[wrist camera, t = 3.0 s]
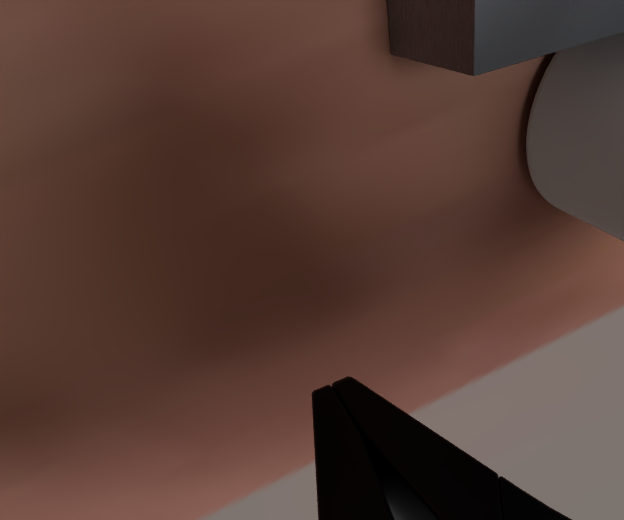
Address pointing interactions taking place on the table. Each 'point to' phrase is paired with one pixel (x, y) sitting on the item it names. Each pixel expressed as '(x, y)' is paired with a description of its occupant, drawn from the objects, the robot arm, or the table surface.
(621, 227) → the beverage can
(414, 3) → the jig plate
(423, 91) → the table surface
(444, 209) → the table surface
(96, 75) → the table surface
